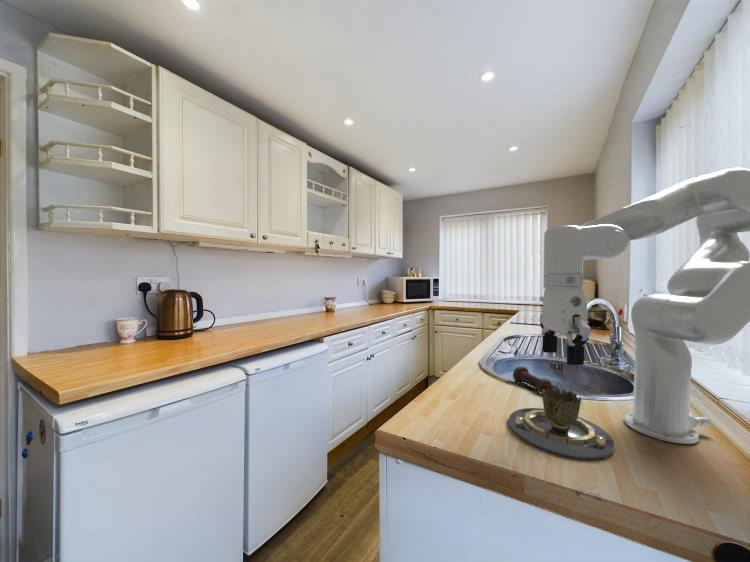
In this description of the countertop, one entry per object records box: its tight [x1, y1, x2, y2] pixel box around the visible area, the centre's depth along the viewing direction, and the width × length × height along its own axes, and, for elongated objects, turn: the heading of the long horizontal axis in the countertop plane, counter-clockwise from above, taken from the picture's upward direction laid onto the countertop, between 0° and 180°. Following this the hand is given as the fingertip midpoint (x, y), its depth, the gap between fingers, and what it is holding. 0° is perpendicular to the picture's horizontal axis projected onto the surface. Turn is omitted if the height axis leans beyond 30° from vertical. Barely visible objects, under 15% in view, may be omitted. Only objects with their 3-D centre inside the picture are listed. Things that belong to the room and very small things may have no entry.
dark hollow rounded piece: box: [541, 387, 582, 432], centre depth 68 cm, size 8×7×8 cm
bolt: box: [512, 366, 561, 393], centre depth 95 cm, size 6×5×15 cm
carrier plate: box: [508, 407, 615, 461], centre depth 68 cm, size 20×20×3 cm
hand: (561, 357), depth 68 cm, fingers open, 9 cm apart
